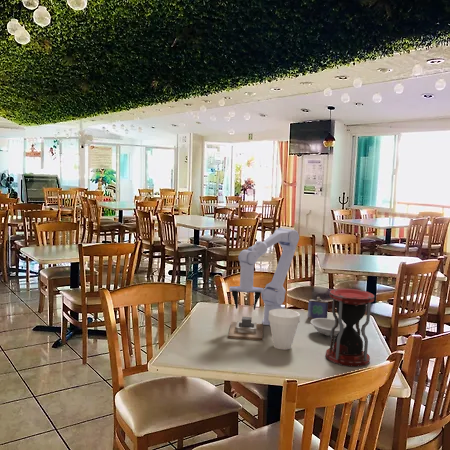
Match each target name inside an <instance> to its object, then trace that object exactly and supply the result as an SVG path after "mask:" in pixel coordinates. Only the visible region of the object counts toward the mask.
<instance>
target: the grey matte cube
mask: <svg viewBox="0 0 450 450" xmlns="http://www.w3.org/2000/svg"><path fill="white" fill-rule="evenodd" d="M252 321H253V317H252V316H242V318H241V322H242V327H247V328H251V323H252Z"/></svg>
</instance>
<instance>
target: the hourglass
mask: <svg viewBox="0 0 450 450" xmlns="http://www.w3.org/2000/svg"><path fill="white" fill-rule="evenodd" d="M328 295H329V297H330V298H331V299H332V311H331V313H332V316H333V318H334V320H335V325H334V327H333V328H332V330H331V335H330V339H329V341H330V342H329V348H327V349H326V350H325V357H326V359H328V361H330V362H332V363H334V364H338V365H340V366H344V367H345V366H346V367H364V366H367V365H368V364H370V359H371V357H370V354H368V345H369V341H368V337H367V335H366V327H367V326H368V325H369V323H370V320H371V319H370V318H371V305H372V303H374V302H375V294H373V293H371V292H369V291H366V290H363V289H362V290H360V289H356V288H355V289H354V288H332V289H331V290H330V291H329V294H328ZM336 312H337V313H336ZM337 315H338V316H337ZM365 315H366V319H365V322H364V323H363V324H362V326H361V328H360V321H361V320H362V319H363V318H364V316H365ZM342 323H344V324H345V325H346V327H345V328H343V324H342ZM338 324H339V325H340V331H339V333H338V334H337V335H334V330H335V329H336V328H337V327H338ZM354 326H355V328H354ZM334 336H335V337H334ZM361 336H362V337H363V339H362V337H361Z"/></svg>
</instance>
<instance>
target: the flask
mask: <svg viewBox="0 0 450 450" xmlns="http://www.w3.org/2000/svg"><path fill="white" fill-rule="evenodd" d="M307 304H308V307H307V319H309V320H310V319H311V320H312V319H315V318H327V319H328V309H329V301H328V300H325V299H321V297H320V296H317V297H316V299H309V300H308V303H307Z"/></svg>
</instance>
